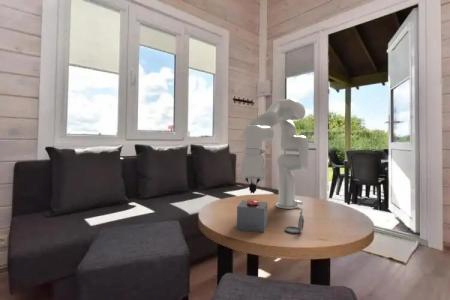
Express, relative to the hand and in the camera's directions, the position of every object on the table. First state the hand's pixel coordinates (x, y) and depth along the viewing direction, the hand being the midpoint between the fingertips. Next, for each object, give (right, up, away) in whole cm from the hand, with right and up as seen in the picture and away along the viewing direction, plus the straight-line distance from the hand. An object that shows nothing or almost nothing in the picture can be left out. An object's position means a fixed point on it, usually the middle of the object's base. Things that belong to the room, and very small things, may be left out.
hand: (252, 192), depth 114 cm
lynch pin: (0, -15, +1) cm, 15 cm away
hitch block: (0, -16, +1) cm, 16 cm away
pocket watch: (+18, -16, -5) cm, 25 cm away
